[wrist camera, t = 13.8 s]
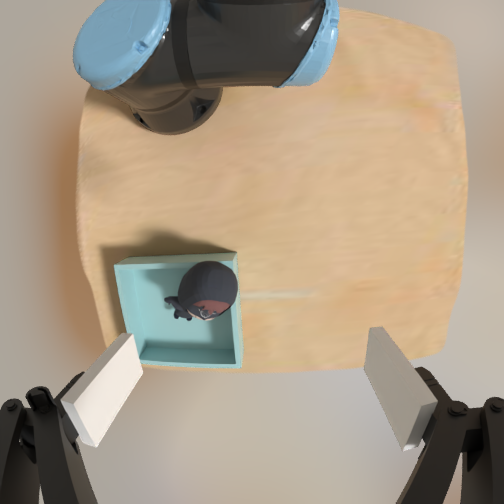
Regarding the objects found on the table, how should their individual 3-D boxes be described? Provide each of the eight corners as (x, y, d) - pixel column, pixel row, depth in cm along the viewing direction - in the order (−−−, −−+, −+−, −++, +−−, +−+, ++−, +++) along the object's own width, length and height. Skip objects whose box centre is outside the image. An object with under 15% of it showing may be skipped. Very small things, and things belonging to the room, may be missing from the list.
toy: (154, 330, 42) (186, 302, 31) (158, 285, 46) (190, 242, 35) (207, 338, 46) (256, 314, 35) (208, 295, 50) (253, 258, 39)
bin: (128, 256, 46) (113, 264, 41) (236, 252, 45) (232, 260, 40) (145, 347, 50) (134, 362, 44) (243, 350, 49) (241, 368, 43)
